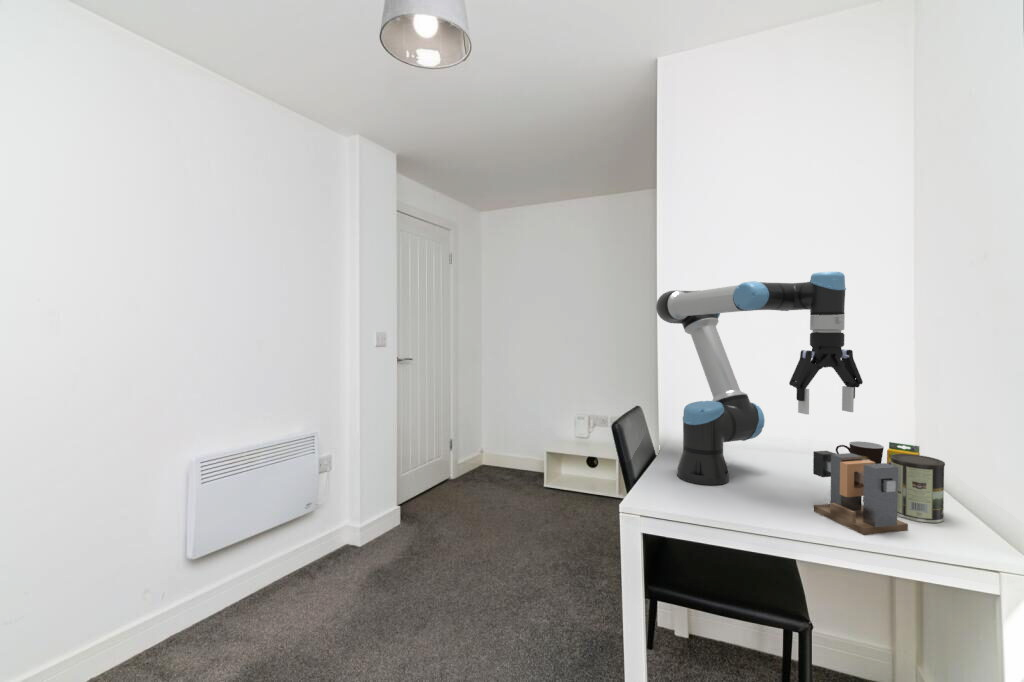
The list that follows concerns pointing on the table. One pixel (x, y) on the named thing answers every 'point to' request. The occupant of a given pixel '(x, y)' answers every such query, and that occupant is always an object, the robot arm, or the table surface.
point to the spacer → (851, 477)
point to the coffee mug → (865, 450)
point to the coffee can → (920, 487)
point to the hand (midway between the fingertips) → (825, 412)
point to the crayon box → (901, 450)
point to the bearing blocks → (868, 491)
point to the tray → (855, 519)
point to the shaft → (824, 470)
